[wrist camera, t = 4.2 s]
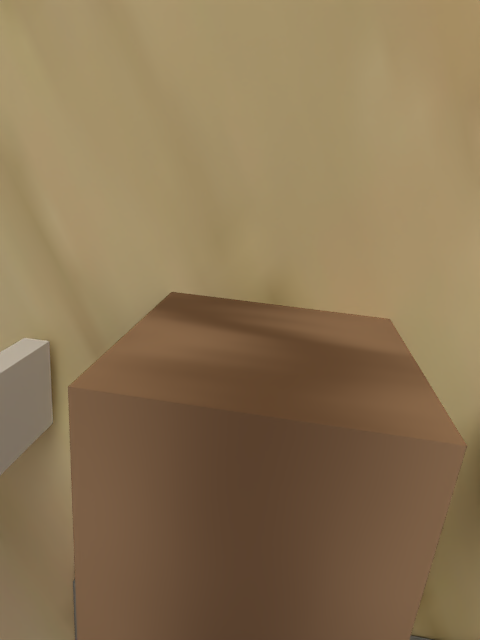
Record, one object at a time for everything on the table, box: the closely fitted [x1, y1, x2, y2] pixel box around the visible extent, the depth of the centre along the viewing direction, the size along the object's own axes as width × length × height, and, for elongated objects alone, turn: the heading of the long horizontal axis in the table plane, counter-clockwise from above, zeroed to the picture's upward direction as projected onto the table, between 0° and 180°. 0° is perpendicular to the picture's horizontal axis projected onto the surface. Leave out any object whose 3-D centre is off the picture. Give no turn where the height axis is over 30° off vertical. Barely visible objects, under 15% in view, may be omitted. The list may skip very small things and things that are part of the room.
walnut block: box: [68, 292, 467, 640], centre depth 10 cm, size 6×6×6 cm
